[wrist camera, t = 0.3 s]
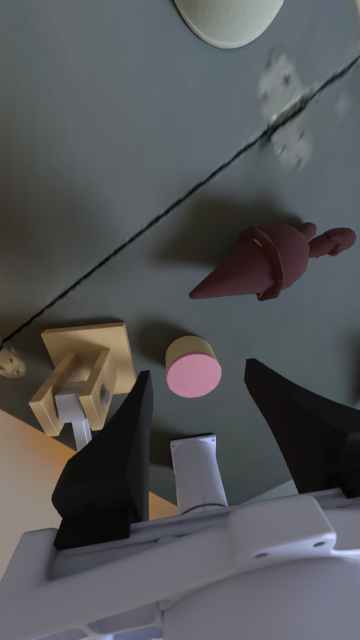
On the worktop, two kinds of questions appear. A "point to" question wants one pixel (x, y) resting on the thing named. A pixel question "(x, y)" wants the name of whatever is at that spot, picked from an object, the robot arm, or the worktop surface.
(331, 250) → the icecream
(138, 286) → the worktop surface
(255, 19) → the can
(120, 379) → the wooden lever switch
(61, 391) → the lever with ball knob
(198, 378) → the cake
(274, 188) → the worktop surface
